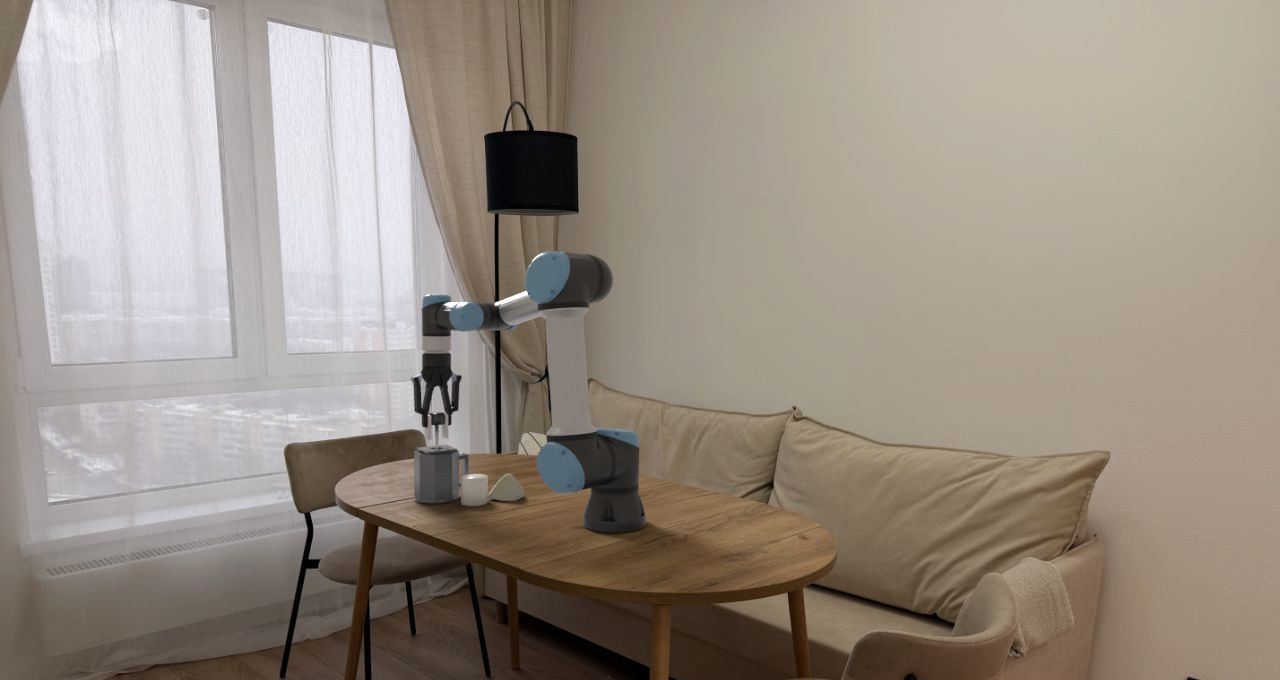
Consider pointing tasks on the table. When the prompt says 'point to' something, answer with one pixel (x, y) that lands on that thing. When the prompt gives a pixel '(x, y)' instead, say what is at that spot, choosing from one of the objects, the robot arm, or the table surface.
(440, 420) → the plunger
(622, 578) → the table surface
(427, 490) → the press
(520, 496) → the seashell
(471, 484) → the white pillar candle
